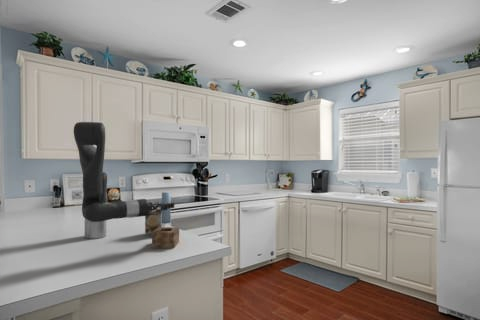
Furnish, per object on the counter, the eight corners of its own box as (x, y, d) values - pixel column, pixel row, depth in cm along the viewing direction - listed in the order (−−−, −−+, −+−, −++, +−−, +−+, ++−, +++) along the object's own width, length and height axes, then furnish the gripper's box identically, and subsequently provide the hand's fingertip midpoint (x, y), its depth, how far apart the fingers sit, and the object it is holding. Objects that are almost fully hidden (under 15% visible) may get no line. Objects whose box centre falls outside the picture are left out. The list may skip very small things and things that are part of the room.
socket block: (151, 247, 126) (152, 232, 126) (158, 241, 136) (158, 227, 136) (174, 248, 126) (174, 232, 126) (179, 241, 136) (179, 227, 136)
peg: (160, 223, 129) (160, 192, 129) (163, 221, 133) (163, 192, 133) (169, 223, 129) (169, 193, 129) (171, 221, 133) (171, 192, 133)
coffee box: (144, 235, 148) (144, 205, 148) (149, 232, 154) (149, 203, 154) (161, 236, 147) (161, 205, 147) (165, 233, 153) (165, 203, 153)
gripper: (141, 201, 117) (178, 198, 128) (129, 198, 128) (165, 195, 139) (141, 219, 117) (178, 214, 127) (129, 214, 128) (165, 210, 138)
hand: (171, 204), depth 133 cm, fingers closed on peg, 4 cm apart
